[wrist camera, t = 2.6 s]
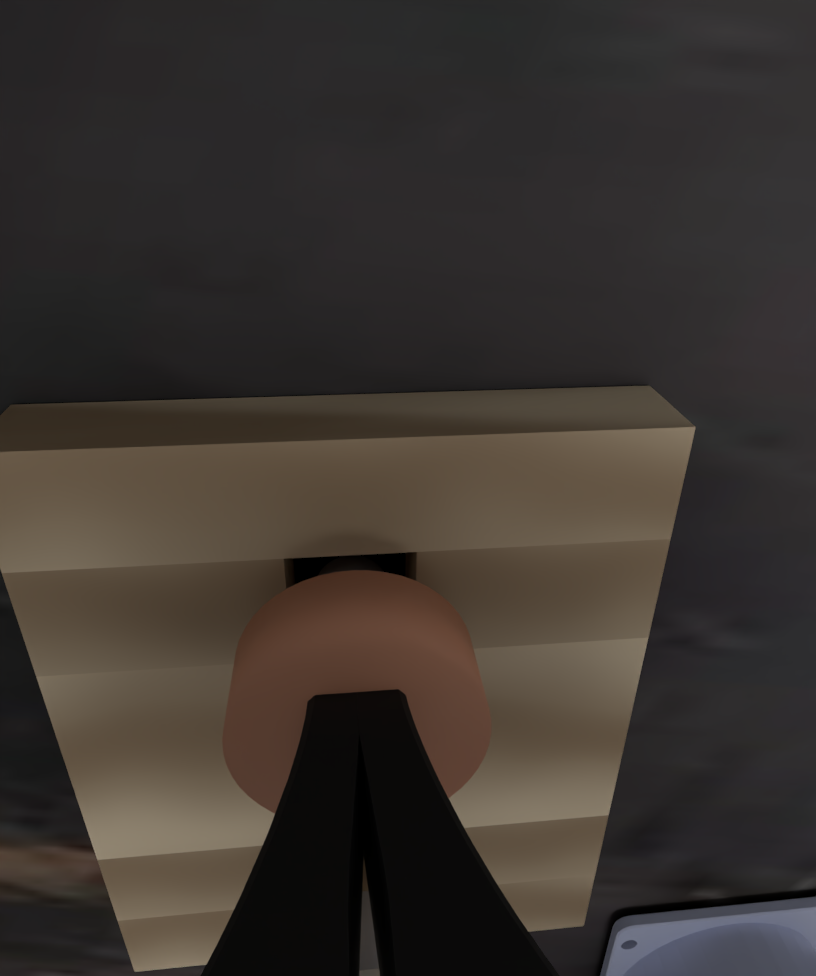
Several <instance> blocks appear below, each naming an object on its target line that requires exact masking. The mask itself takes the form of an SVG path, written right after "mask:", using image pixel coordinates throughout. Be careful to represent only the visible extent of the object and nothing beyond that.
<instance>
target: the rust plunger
mask: <svg viewBox="0 0 816 976" xmlns="http://www.w3.org/2000/svg"><path fill="white" fill-rule="evenodd" d="M394 689H399V690H400V691H402V692H403V693H404V694H405V695H406V697H407V701H408V705H409V708H410V711H411V714H412V717H413V720H414V723H415V726H416V728H417V731H418V733H419V736H420V738H421V741H422V743H423V746H424V748H425V750H426V752H427V755H428V757H429V759H430V761H431V764H432V766H433V768H434V770H435V772H436V774H437V776H438V779H439V781H440V783H441V785H442V787H443V789H444V791H445V792H446V794H447V796H448V798H450V797H451V796H452V795H453V794H455V793H456V792H457V791H458V790H460V789H461V788H462V787H463V786H464V785H465V784H466V783H467V782H468V781H469V780H470V779H471V777H472V776H473V775H474V773H475V772H476V771H477V769H478V768H479V766H480V764H481V763H482V761H483V759H484V757H485V755H486V752H487V749H488V747H489V743H490V737H491V716H490V710H489V706H488V702H487V698H486V695H485V691H484V687H483V683H482V680H481V676H480V672H479V668H478V665H477V661H476V657H475V653H474V649H473V646H472V642H471V638H470V635H469V632H468V630H467V627H466V625H465V623H464V621H463V620H462V618H461V616H460V614H459V613H458V612H457V611H456V610H455V608H454V607H453V606H452V605H451V604H450V603H449V602H448V601H447V600H446V599H445V598H443V597H442V596H441V595H440V594H438V593H437V592H435V591H434V590H432V589H431V588H429V587H427V586H425V585H423V584H421V583H419V582H417V581H415V580H412V579H409V578H406V577H404V576H401V575H396V574H392V573H387V572H384V571H383V570H382V568H381V567H380V566H379V565H378V564H377V563H375V562H374V561H372V560H370V559H368V558H365V557H361V556H344V557H340V558H337V559H335V560H332V561H331V562H329V563H328V564H326V565H325V566H324V567H323V568H322V569H321V571H320V572H319V574H318V576H316V577H313V578H310V579H307V580H304V581H302V582H300V583H297V584H295V585H293V586H291V587H289V588H287V589H285V590H284V591H282V592H281V593H279V594H277V595H276V596H274V597H273V598H272V599H271V600H269V601H268V602H267V603H266V604H264V605H263V606H262V607H261V608H260V609H259V610H258V611H257V613H256V614H255V615H254V616H253V617H252V618H251V620H250V621H249V623H248V624H247V626H246V627H245V629H244V631H243V633H242V635H241V637H240V639H239V643H238V646H237V649H236V654H235V660H234V666H233V673H232V679H231V685H230V691H229V697H228V703H227V710H226V716H225V722H224V728H223V737H222V745H223V754H224V758H225V762H226V765H227V767H228V769H229V771H230V774H231V776H232V777H233V779H234V780H235V781H236V783H237V784H238V786H239V787H240V788H241V789H242V790H243V791H244V792H245V793H246V794H247V795H248V796H249V797H250V798H251V799H253V800H254V801H255V802H256V803H258V804H259V805H260V806H262V807H264V808H266V809H267V810H269V811H271V812H272V813H276V810H277V807H278V805H279V802H280V799H281V796H282V794H283V791H284V788H285V786H286V783H287V780H288V777H289V774H290V771H291V768H292V765H293V761H294V758H295V755H296V752H297V748H298V745H299V741H300V737H301V733H302V729H303V725H304V720H305V716H306V709H307V702H308V701H309V700H310V699H311V698H312V697H313V696H314V695H322V694H337V693H351V692H366V691H379V690H394Z"/></svg>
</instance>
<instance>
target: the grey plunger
mask: <svg viewBox="0 0 816 976" xmlns="http://www.w3.org/2000/svg"><path fill="white" fill-rule="evenodd" d="M359 976H380V972H379V965H378V958H377V950H376V943H375V936H374V928H373V921H372V914H371V906H370V899H369V891H362V916H361V942H360V969H359Z"/></svg>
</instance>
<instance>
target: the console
mask: <svg viewBox="0 0 816 976" xmlns="http://www.w3.org/2000/svg"><path fill="white" fill-rule="evenodd" d="M695 428H696V427H695V426H694V425H693V424H692V423H691V422H690V421H688V420H687V419H686V418H685V417H684V416H683V415H682V414H681V413H680V412H678V411H677V410H676V409H675V408H674V407H673V406H672V405H671V404H670V403H668V402H667V401H666V400H665V399H664V398H663V397H662V396H661V395H659V394H658V393H657V392H656V391H655V390H654V389H653V388H652V387H651V386H649V385H648V386H615V387H582V388H548V389H515V390H482V391H448V392H415V393H382V394H348V395H315V396H282V397H249V398H215V399H182V400H149V401H115V402H82V403H49V404H15V405H10V406H9V407H8V408H7V409H6V410H5V411H4V412H3V413H2V414H1V415H0V569H1V572H2V575H3V578H4V581H5V584H6V587H7V590H8V593H9V596H10V599H11V602H12V605H13V608H14V611H15V614H16V617H17V620H18V623H19V626H20V629H21V632H22V635H23V638H24V641H25V644H26V647H27V650H28V653H29V656H30V659H31V662H32V665H33V668H34V671H35V674H36V677H37V680H38V683H39V686H40V689H41V692H42V695H43V698H44V701H45V704H46V707H47V710H48V713H49V716H50V719H51V722H52V725H53V728H54V731H55V734H56V737H57V740H58V743H59V746H60V749H61V752H62V755H63V758H64V761H65V764H66V767H67V770H68V773H69V776H70V779H71V782H72V785H73V788H74V791H75V794H76V797H77V800H78V803H79V806H80V809H81V812H82V815H83V818H84V821H85V824H86V827H87V830H88V833H89V836H90V839H91V842H92V845H93V848H94V851H95V854H96V857H97V860H98V863H99V866H100V869H101V872H102V875H103V878H104V881H105V884H106V887H107V890H108V893H109V896H110V899H111V902H112V905H113V908H114V911H115V914H116V917H117V920H118V923H119V926H120V929H121V932H122V935H123V938H124V941H125V944H126V947H127V950H128V953H129V956H130V959H131V962H132V965H133V968H134V971H135V972H138V971H148V970H158V969H168V968H177V967H187V966H197V965H207V963H208V961H209V959H210V957H211V955H212V953H213V951H214V949H215V947H216V945H217V943H218V941H219V939H220V937H221V935H222V933H223V931H224V929H225V927H226V925H227V923H228V921H229V919H230V917H231V915H232V913H233V911H234V909H235V907H236V904H237V902H238V900H239V898H240V896H241V894H242V891H243V889H244V887H245V885H246V882H247V880H248V878H249V875H250V873H251V871H252V868H253V866H254V864H255V862H256V859H257V857H258V855H259V852H260V850H261V848H262V846H263V843H264V841H265V839H266V836H267V834H268V831H269V829H270V826H271V823H272V821H273V818H274V815H275V813H272V812H271V811H269V810H267V809H266V808H264V807H262V806H260V805H259V804H258V803H256V802H255V801H254V800H253V799H251V798H250V797H249V796H248V795H247V794H246V793H245V792H244V791H243V790H242V789H241V788H240V787H239V786H238V784H237V783H236V781H235V780H234V779H233V777H232V776H231V774H230V771H229V769H228V767H227V765H226V762H225V758H224V754H223V745H222V737H223V728H224V722H225V716H226V710H227V703H228V697H229V691H230V685H231V679H232V673H233V666H234V660H235V654H236V649H237V646H238V643H239V639H240V637H241V635H242V633H243V631H244V629H245V627H246V626H247V624H248V623H249V621H250V620H251V618H252V617H253V616H254V615H255V614H256V613H257V611H258V610H259V609H260V608H261V607H262V606H263V605H264V604H266V603H267V602H268V601H269V600H271V599H272V598H273V597H274V596H276V595H277V594H279V593H281V592H282V591H284V590H285V589H287V588H289V587H291V586H293V585H295V572H294V561H293V558H308V557H328V556H348V555H367V554H387V553H406V563H405V577H406V578H409V579H412V580H415V581H417V582H419V583H421V584H423V585H425V586H427V587H429V588H431V589H432V590H434V591H435V592H437V593H438V594H440V595H441V596H442V597H443V598H445V599H446V600H447V601H448V602H449V603H450V604H451V605H452V606H453V607H454V608H455V610H456V611H457V612H458V613H459V614H460V616H461V618H462V620H463V621H464V623H465V625H466V627H467V630H468V632H469V635H470V638H471V642H472V646H473V649H474V653H475V657H476V661H477V665H478V668H479V672H480V676H481V680H482V683H483V687H484V691H485V695H486V698H487V702H488V706H489V710H490V716H491V737H490V743H489V747H488V749H487V752H486V755H485V757H484V759H483V761H482V763H481V764H480V766H479V768H478V769H477V771H476V772H475V773H474V775H473V776H472V777H471V779H470V780H469V781H468V782H467V783H466V784H465V785H464V786H463V787H462V788H461V789H460V790H458V791H457V792H456V793H455V794H453V795H452V796H451V797H450V798H449V800H450V802H451V804H452V806H453V808H454V810H455V812H456V814H457V815H458V817H459V819H460V821H461V823H462V825H463V827H464V829H465V830H466V832H467V834H468V836H469V837H470V839H471V841H472V843H473V845H474V846H475V848H476V850H477V851H478V853H479V855H480V856H481V858H482V860H483V861H484V863H485V865H486V866H487V868H488V870H489V872H490V873H491V875H492V877H493V878H494V880H495V881H496V883H497V885H498V886H499V888H500V889H501V891H502V893H503V894H504V896H505V897H506V899H507V900H508V902H509V904H510V905H511V907H512V908H513V910H514V911H515V913H516V914H517V916H518V917H519V919H520V920H521V922H522V923H523V925H524V926H525V928H526V929H527V931H528V932H530V931H540V930H550V929H559V928H569V927H579V926H584V922H585V918H586V913H587V909H588V905H589V900H590V896H591V891H592V887H593V882H594V878H595V873H596V869H597V864H598V860H599V856H600V851H601V847H602V842H603V838H604V833H605V829H606V824H607V820H608V815H609V811H610V807H611V802H612V798H613V793H614V789H615V784H616V780H617V775H618V771H619V766H620V762H621V757H622V753H623V749H624V744H625V740H626V735H627V731H628V726H629V722H630V717H631V713H632V708H633V704H634V700H635V695H636V691H637V686H638V682H639V677H640V673H641V668H642V664H643V659H644V655H645V651H646V646H647V642H648V637H649V633H650V628H651V624H652V619H653V615H654V610H655V606H656V602H657V597H658V593H659V588H660V584H661V579H662V575H663V570H664V566H665V561H666V557H667V552H668V548H669V544H670V539H671V535H672V530H673V526H674V521H675V517H676V512H677V508H678V503H679V499H680V495H681V490H682V486H683V481H684V477H685V472H686V468H687V463H688V459H689V454H690V450H691V446H692V441H693V437H694V432H695ZM362 891H368V884H367V877H366V869H365V862H364V861H363V889H362Z"/></svg>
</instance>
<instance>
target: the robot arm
mask: <svg viewBox="0 0 816 976" xmlns="http://www.w3.org/2000/svg"><path fill="white" fill-rule="evenodd" d="M363 861H364V862H365V869H366V877H367V884H368V891H369V899H370V906H371V914H372V921H373V928H374V936H375V943H376V950H377V958H378V965H379V972H380V976H559V974H558V973H557V972H556V970H555V969H554V968H553V966H552V965H551V963H550V962H549V961H548V959H547V958H546V957H545V955H544V954H543V952H542V951H541V950H540V948H539V947H538V945H537V944H536V942H535V941H534V939H533V938H532V936H531V935H530V933H529V932H528V931H527V929H526V928H525V926H524V925H523V923H522V922H521V920H520V919H519V917H518V916H517V914H516V913H515V911H514V910H513V908H512V907H511V905H510V904H509V902H508V900H507V899H506V897H505V896H504V894H503V893H502V891H501V889H500V888H499V886H498V885H497V883H496V881H495V880H494V878H493V877H492V875H491V873H490V872H489V870H488V868H487V866H486V865H485V863H484V861H483V860H482V858H481V856H480V855H479V853H478V851H477V850H476V848H475V846H474V845H473V843H472V841H471V839H470V837H469V836H468V834H467V832H466V830H465V829H464V827H463V825H462V823H461V821H460V819H459V817H458V815H457V814H456V812H455V810H454V808H453V806H452V804H451V802H450V800H449V798H448V796H447V794H446V792H445V791H444V789H443V787H442V785H441V783H440V781H439V779H438V776H437V774H436V772H435V770H434V768H433V766H432V764H431V761H430V759H429V757H428V755H427V752H426V750H425V748H424V746H423V743H422V741H421V738H420V736H419V733H418V731H417V728H416V726H415V723H414V720H413V717H412V714H411V711H410V708H409V705H408V701H407V697H406V695H405V694H404V693H403V692H402V691H400V690H399V689H394V690H379V691H366V692H351V693H337V694H322V695H314V696H313V697H312V698H311V699H310V700H309V701H308V702H307V709H306V716H305V720H304V725H303V729H302V733H301V737H300V741H299V745H298V748H297V752H296V755H295V758H294V761H293V765H292V768H291V771H290V774H289V777H288V780H287V783H286V786H285V788H284V791H283V794H282V796H281V799H280V802H279V805H278V807H277V810H276V813H275V815H274V818H273V821H272V823H271V826H270V829H269V831H268V834H267V836H266V839H265V841H264V843H263V846H262V848H261V850H260V852H259V855H258V857H257V859H256V862H255V864H254V866H253V868H252V871H251V873H250V875H249V878H248V880H247V882H246V885H245V887H244V889H243V891H242V894H241V896H240V898H239V900H238V902H237V904H236V907H235V909H234V911H233V913H232V915H231V917H230V919H229V921H228V923H227V925H226V927H225V929H224V931H223V933H222V935H221V937H220V939H219V941H218V943H217V945H216V947H215V949H214V951H213V953H212V955H211V957H210V959H209V961H208V963H207V965H206V967H205V968H204V970H203V972H202V974H201V976H359V969H360V942H361V916H362V889H363ZM600 976H816V896H815V897H806V898H796V899H786V900H776V901H766V902H756V903H746V904H737V905H727V906H717V907H707V908H697V909H687V910H677V911H667V912H658V913H648V914H638V915H629V916H624V917H622V918H620V919H618V920H617V921H616V922H615V923H614V925H613V927H612V931H611V935H610V939H609V943H608V947H607V950H606V954H605V958H604V962H603V966H602V970H601V974H600Z"/></svg>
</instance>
